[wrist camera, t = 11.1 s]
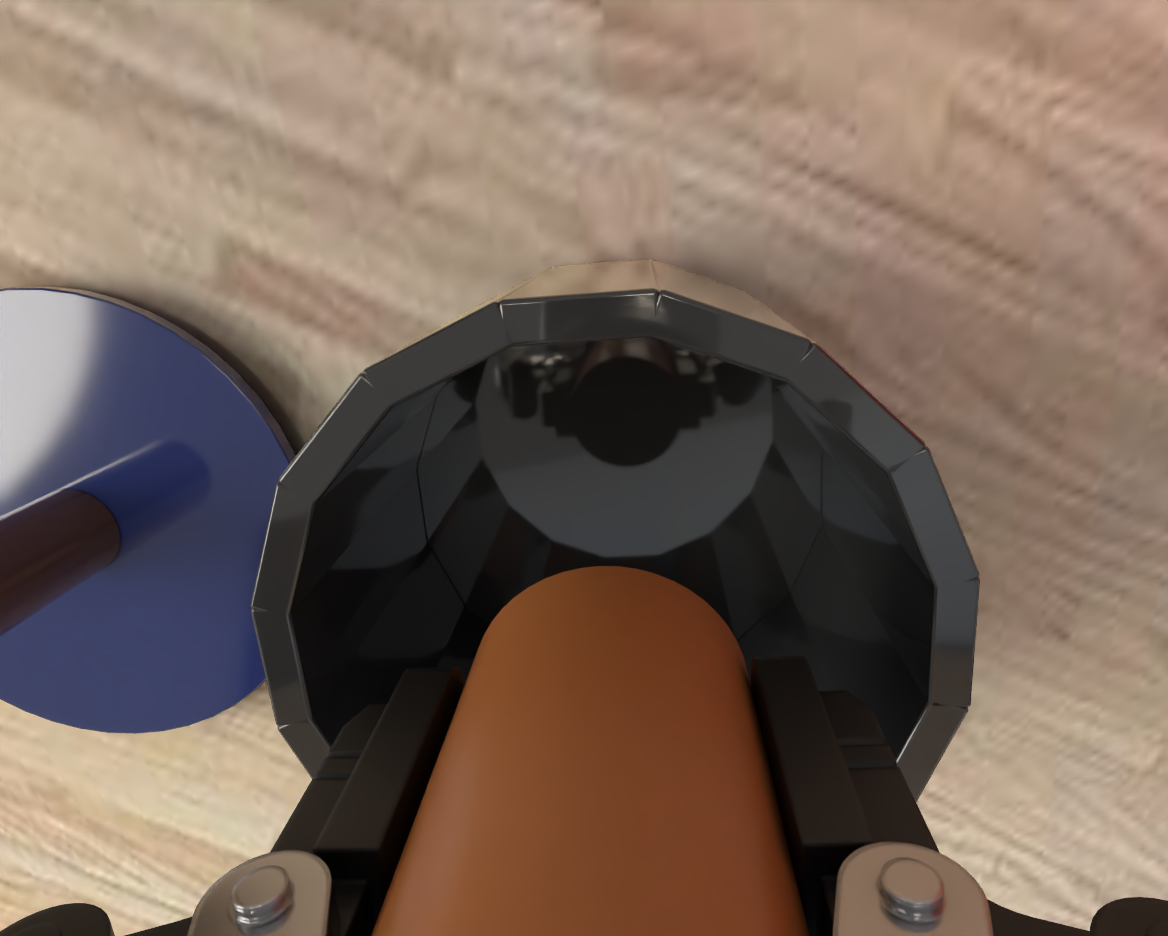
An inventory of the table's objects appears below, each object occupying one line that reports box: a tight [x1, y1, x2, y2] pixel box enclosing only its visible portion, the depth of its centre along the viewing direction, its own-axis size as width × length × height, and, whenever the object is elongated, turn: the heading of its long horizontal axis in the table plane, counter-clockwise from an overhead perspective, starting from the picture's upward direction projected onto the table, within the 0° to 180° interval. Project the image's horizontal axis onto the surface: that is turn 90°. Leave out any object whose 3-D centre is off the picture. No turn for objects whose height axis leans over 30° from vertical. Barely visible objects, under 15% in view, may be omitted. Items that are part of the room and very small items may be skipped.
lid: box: [0, 286, 296, 734], centre depth 20 cm, size 13×13×6 cm
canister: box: [251, 259, 980, 802], centre depth 17 cm, size 12×12×8 cm
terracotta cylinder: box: [371, 566, 810, 936], centre depth 9 cm, size 4×4×6 cm
